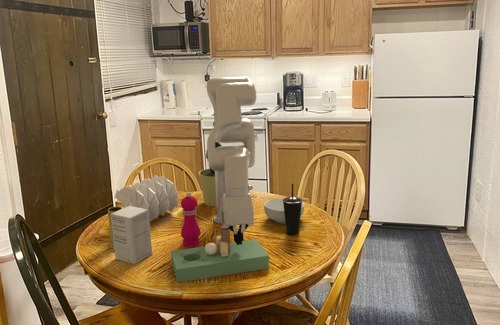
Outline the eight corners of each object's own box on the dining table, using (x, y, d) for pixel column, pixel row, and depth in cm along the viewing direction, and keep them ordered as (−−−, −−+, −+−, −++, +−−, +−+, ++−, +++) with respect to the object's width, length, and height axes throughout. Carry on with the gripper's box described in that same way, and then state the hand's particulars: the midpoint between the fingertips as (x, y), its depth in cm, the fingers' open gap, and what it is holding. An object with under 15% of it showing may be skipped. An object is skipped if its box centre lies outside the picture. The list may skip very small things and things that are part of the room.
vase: (111, 249, 170) (108, 212, 167) (108, 244, 176) (104, 207, 172) (128, 246, 173) (125, 209, 170) (124, 240, 178) (121, 205, 175)
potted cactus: (197, 199, 225) (194, 137, 218) (229, 196, 229) (227, 135, 222) (202, 209, 211) (199, 144, 204) (235, 206, 214) (233, 141, 207)
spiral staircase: (176, 219, 210) (137, 236, 189) (149, 198, 217) (108, 212, 195) (190, 186, 203) (151, 200, 182) (161, 165, 210) (120, 176, 188)
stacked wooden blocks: (216, 247, 158) (215, 224, 156) (226, 245, 159) (225, 223, 157) (222, 256, 151) (221, 233, 149) (232, 255, 152) (231, 232, 150)
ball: (217, 248, 156) (207, 254, 156) (212, 238, 155) (201, 244, 154) (220, 252, 153) (209, 259, 152) (215, 243, 151) (204, 249, 151)
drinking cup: (301, 237, 177) (301, 187, 172) (281, 236, 178) (281, 186, 174) (303, 230, 184) (303, 181, 179) (284, 229, 186) (283, 180, 181)
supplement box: (133, 248, 171) (129, 205, 167) (153, 253, 166) (149, 208, 162) (114, 259, 163) (109, 213, 159) (133, 264, 158) (129, 217, 154)
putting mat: (171, 263, 158) (170, 251, 157) (256, 251, 166) (256, 239, 165) (177, 282, 145) (176, 269, 144) (269, 268, 153) (268, 255, 152)
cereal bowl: (310, 224, 190) (310, 207, 189) (272, 229, 186) (271, 212, 184) (294, 211, 206) (294, 195, 204) (258, 215, 202) (258, 200, 200)
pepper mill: (204, 241, 176) (201, 190, 171) (196, 249, 169) (193, 196, 165) (187, 239, 178) (184, 188, 174) (178, 246, 172) (174, 194, 167)
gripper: (255, 185, 157) (256, 236, 161) (211, 189, 153) (214, 242, 157) (262, 191, 150) (263, 244, 154) (217, 196, 146) (219, 251, 150)
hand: (238, 243), depth 156 cm, fingers closed
